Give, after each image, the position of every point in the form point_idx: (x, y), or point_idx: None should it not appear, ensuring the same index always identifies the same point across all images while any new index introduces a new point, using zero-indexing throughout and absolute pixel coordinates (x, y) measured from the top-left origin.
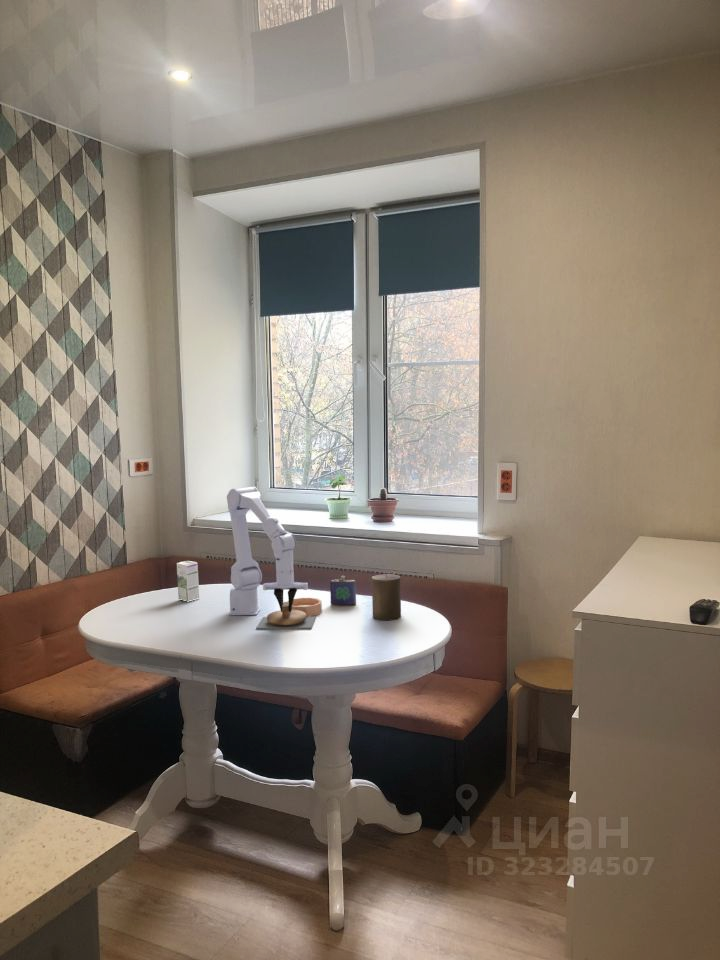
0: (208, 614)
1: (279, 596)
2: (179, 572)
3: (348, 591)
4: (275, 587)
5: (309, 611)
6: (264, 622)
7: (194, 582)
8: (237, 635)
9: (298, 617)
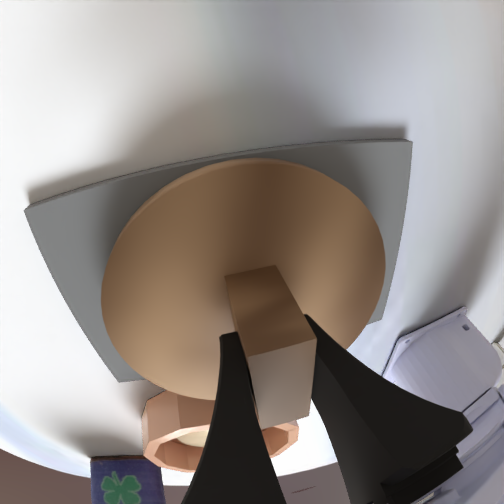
0: (496, 293)
1: (393, 425)
2: None
3: (104, 495)
4: (482, 490)
5: (166, 410)
6: None
7: (502, 381)
8: (458, 47)
9: (145, 304)
